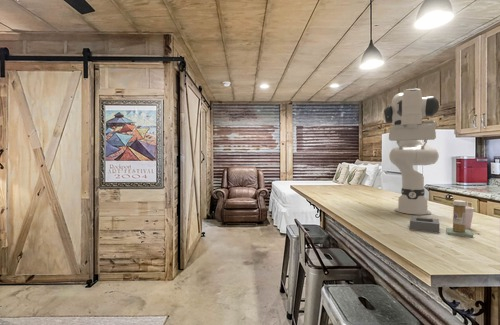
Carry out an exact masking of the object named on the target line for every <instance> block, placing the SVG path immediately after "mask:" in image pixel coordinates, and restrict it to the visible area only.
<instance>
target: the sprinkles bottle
mask: <svg viewBox="0 0 500 325" xmlns="http://www.w3.org/2000/svg"><path fill="white" fill-rule="evenodd" d="M452 204H453V214H452V228H453V231H456V232H465V230H466V229H465V207H467V200H466V201H465V200H460V199H455V200H453V201H452Z"/></svg>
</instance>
